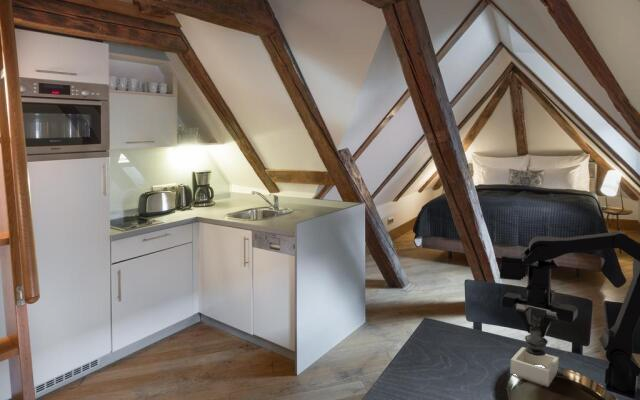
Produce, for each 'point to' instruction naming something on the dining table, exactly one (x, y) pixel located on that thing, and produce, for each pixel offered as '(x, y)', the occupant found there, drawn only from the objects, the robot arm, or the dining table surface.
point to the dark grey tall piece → (536, 337)
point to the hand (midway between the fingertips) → (536, 334)
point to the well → (534, 367)
